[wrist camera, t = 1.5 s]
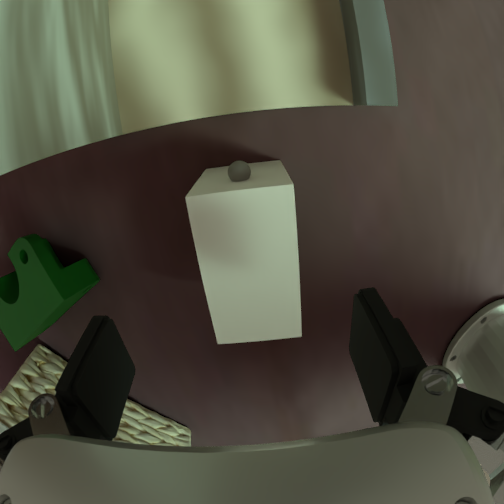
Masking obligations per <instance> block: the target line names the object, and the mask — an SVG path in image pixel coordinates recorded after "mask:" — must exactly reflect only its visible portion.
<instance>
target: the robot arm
mask: <svg viewBox="0 0 504 504" xmlns="http://www.w3.org/2000/svg"><path fill="white" fill-rule="evenodd" d="M349 351H350V355H351V358H352V361H353V364H354V366H355V369H356V372H357V375H358V378H359V380H360V383H361V386H362V389H363V392H364V395H365V398H366V401H367V403H368V406H369V409H370V412H371V415H372V418H373V421H374V422H379V425H380V426H378V427H373V428H367V429H362V430H357V431H352V432H347V433H341V434H336V435H330V436H323V437H317V438H311V439H304V440H296V441H288V442H279V443H268V444H256V445H240V446H208V447H194V446H162V445H146V444H134V443H124V442H116V441H112V440H113V438H115V437H116V435H117V432H118V428H119V425H120V421H121V418H122V414H123V411H124V407H125V404H126V401H127V397H128V394H129V391H130V388H131V384H132V381H133V378H134V375H135V366H134V364H133V362H132V360H131V358H130V356H129V354H128V352H127V350H126V347H125V345H124V343H123V341H122V339H121V337H120V335H119V333H118V330H117V328H116V326H115V324H114V322H113V320H112V319H109V317H108V316H94V317H93V318H92V319H91V321H90V323H89V325H88V326H87V328H86V330H85V332H84V333H83V335H82V337H81V339H80V341H79V342H78V344H77V346H76V348H75V350H74V352H73V354H72V355H71V357H70V359H69V361H68V363H67V365H66V367H65V369H64V371H63V373H62V375H61V377H60V379H59V381H58V383H57V385H56V387H55V389H54V390H55V391H56V394H55V396H54V395H53V394H49V393H44V394H41V395H39V396H37V397H36V398H35V399H34V400H33V401H32V402H31V404H30V405H29V409H28V415H29V417H28V418H26V419H25V420H23V421H21V422H19V423H18V424H16V425H14V426H12V427H11V428H9V429H7V430H5V431H4V432H2V433H1V434H0V504H504V299H500V300H497V301H494V302H492V303H490V304H488V305H487V306H485V307H484V308H482V309H481V310H480V311H478V312H477V313H476V314H475V315H473V316H472V317H471V318H470V319H469V320H468V321H467V322H466V323H465V324H464V325H463V327H462V328H461V329H460V330H459V331H458V333H457V334H456V335H455V337H454V338H453V340H452V341H451V343H450V345H449V346H448V348H447V351H446V353H445V355H444V359H443V363H442V366H438V365H433V366H428V367H427V365H426V363H425V361H424V360H423V358H422V356H421V354H420V353H419V351H418V349H417V347H416V346H415V344H414V342H413V341H412V339H411V337H410V335H409V334H408V332H407V330H406V329H405V327H404V325H403V324H402V322H401V321H400V320H399V319H398V318H394V319H393V317H392V315H391V314H390V312H389V310H388V309H387V307H386V305H385V304H384V302H383V300H382V299H381V297H380V296H379V294H378V292H377V291H376V289H375V288H367V289H360V290H359V292H358V294H355V295H354V302H353V314H352V324H351V334H350V343H349ZM457 383H464V384H465V385H466V387H467V389H468V390H467V389H464V388H461V387H458V386H457ZM480 464H482V466H481V465H480ZM482 469H484V470H485V471H486V472H487V473H488V474H489V477H490V480H491V481H490V487H489V485H488V482H487V479H486V477H485V474H484V472H483V470H482Z"/></svg>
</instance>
